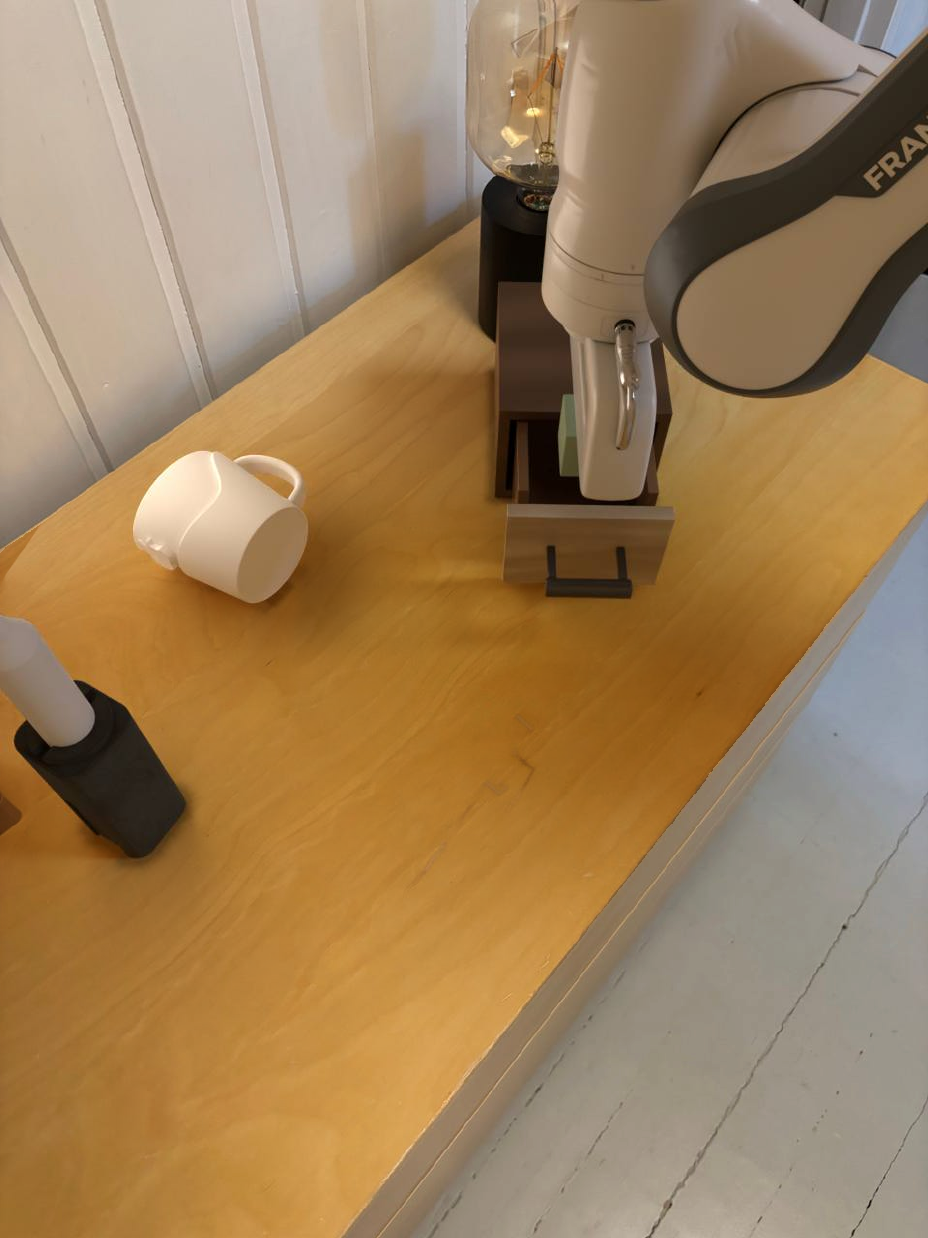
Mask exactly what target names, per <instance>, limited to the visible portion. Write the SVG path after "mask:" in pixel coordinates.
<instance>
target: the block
mask: <svg viewBox="0 0 928 1238" xmlns="http://www.w3.org/2000/svg"><path fill="white" fill-rule="evenodd" d="M558 445H559V464H560V476H579V464H578V449H577V434H576V419H575V404H574V394H564V395H563V401H562V408H561V416H560V424H559V431H558Z"/></svg>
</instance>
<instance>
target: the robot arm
mask: <svg viewBox="0 0 928 1238" xmlns="http://www.w3.org/2000/svg"><path fill="white" fill-rule="evenodd" d="M554 137H555V138H554V149H555V150H554V151H555V157H556V161H557V166H558V174H559V175H558V181H557V182H558V183H557V186H556V188H555V191H554V194H553V196H552V198H551V201H550V204H549V208H548V213H547V214H548V215H547V222H546V223H547V224H546V235H545V247H544V255H543V256H544V257H543V268H542V279H541V283H542V288H541V290H542V297H543V301H544V303H545V305H546V307H547V309H548V310H549V312H550V313H551V315H552V316H553V317H554V318H555V319H556V320H557V321H558V322H560V323H561V324H562V325H563V326H564V328H565V330H566V331H567V332H568V333H569V334H570V344H571V359H572V374H573V389H574V404H575V419H576V434H577V449H578V464H579V479H580V490H581V493H582V495H583V496H584V497H586V498H589V499H596V500H609V501H614V500H630V499H634V498H636V497H638V496H639V495H640V494H641V492H642V490H643V486H644V482H645V477H646V472H647V467H648V462H649V457H650V452H651V446H652V441H653V435H654V428H655V420H656V385H655V378H654V370H653V363H652V355H651V348H650V343H652V342H653V341H654V340H655V339H656V338H658V337H660V339H661V341H662V343H663V346H664V347H665V349H666V350H667V351H668V353H669V354H670V355H671V357H672V358H673V359H674V360H675V361H676V363H678V365H679V366H680V367H682V369H684V370H685V371H686V372H687V373H688V374H689V375H691V376H692V377H693V378H695V379H697V380H698V381H699V382H701V383H702V384H705V385H707V386H709V387H710V388H713V389H715V390H718V391H720V392H723V393H726V394H730V395H733V396H738V397H743V398H749V399H785V398H791V397H798V396H803V395H807V394H811V393H815V392H818V391H821V390H823V389H826V388H827V387H830V386H832V385H834V384H835V383H837V382H839V381H841V380H842V379H843V378H845V377H846V376H847V375H849V374H850V373H851V372H852V371H854V369H855V368H856V367H857V366H858V365H859V364H860V363H861V362H862V360H863V359H864V358H865V356H866V355H867V354H868V353H869V351H870V350H871V349H872V347H873V345H874V343H876V340H877V339H878V337H879V336H880V333H881V332H882V330H883V328H884V327H885V326H886V325H885V324H886V323H887V321H888V320H889V317H890V316H891V314H892V312H893V311H894V310H895V308H896V306H897V305H898V303H899V301H900V300H901V299H902V297H903V296H904V295H905V294H906V292H907V291H908V289H909V288H911V286H912V285H913V284H914V282H916V280H917V279H918V278H919V277H921V275H922V274H923V273H924V272H925V271H927V269H928V26H926V27H925V29H923V31H922V32H920V33H919V34H918V36H917V37H915V39H913V41H911V42H910V44H909V45H907V46H906V47H905V49H904V50H903V51H902V52H901V53H900V54H898V56H896V55H894V54H893V53H890V52H888V51H886V50H884V49H881V48H878V47H875V46H873V45H872V46H871V45H866V44H860V43H857V42H855V41H853V40H851V39H850V38H848V37H846V36H844V35H842V34H840V33H839V32H837V31H836V30H833V29H832V28H830V26H827V25H826V24H824V23H823V22H821V21H820V20H818V19H817V18H816V17H814V16H813V15H812V14H810V13H809V12H808V11H806V10H805V9H804V8H802V6H801V5H799V4H798V3H797V2H796V1H794V0H579V2H578V3H577V8H576V12H575V15H574V18H573V22H572V26H571V30H570V34H569V39H568V43H567V48H566V54H565V60H564V66H563V72H562V79H561V85H560V93H559V101H558V111H557V118H556V125H555V136H554Z"/></svg>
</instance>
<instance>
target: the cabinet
mask: <svg viewBox="0 0 928 1238" xmlns="http://www.w3.org/2000/svg"><path fill="white" fill-rule="evenodd" d="M497 284H498V285H497V286H498V287H497V307H496V326H495V327H496V328H495V351H494V352H495V354H494V372H493V373H494V374H493V375H494V378H493V379H494V382H493V383H494V385H493V386H494V392H493V393H494V395H493V397H494V405H493V406H494V409H493V411H494V413H493V414H494V417H493V419H494V427H493V428H494V430H493V431H494V433H493V435H494V436H493V437H494V439H493V441H494V443H493V445H494V446H493V449H494V453H493V454H494V456H493V457H494V458H493V459H494V460H493V463H494V464H493V465H494V467H493V468H494V469H493V470H494V471H493V472H494V474H493V476H494V478H493V480H494V481H493V483H494V484H493V485H494V487H493V488H494V489H493V491H494V493H493V494H494V497H493V498H502V499H503V498H504V499H505V498H506V499H509V498H510V499H512V436H513V421H514V420H560V416H561V408H562V401H563V395H564V394H574V389H573V374H572V359H571V344H570V334H569V333H568V332H567V331H566V330H565V328H564V326H563V325H562V324H561V323H560V322H558V321H557V320H556V319H555V318H554V317H553V316H552V315H551V313H550V312H549V310H548V309H547V307H546V305H545V303H544V301H543V297H542V290H541V288H542V282H535V281H534V282H533V281H532V282H531V281H530V282H529V281H528V282H527V281H524V282H523V281H498V283H497ZM650 348H651V355H652V363H653V370H654V378H655V385H656V420H655V428H654V435H653V447H654V455H655V464H656V472H657V473H658V471H659V466H660V464H661V460H662V456H663V452H664V448H665V446H666V445H665V444H666V441H667V437H668V433H669V430H670V426H671V422H672V417H673V415H674V413H673V406H672V400H671V393H670V385H669V378H668V372H667V365H666V364H667V363H666V358H665V357H666V356H665V350H664V344H663V342H662V341H661V339H660V337H658V338H656V339H655V340H654V341H653V342H652V343H650Z"/></svg>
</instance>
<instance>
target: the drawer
mask: <svg viewBox="0 0 928 1238" xmlns="http://www.w3.org/2000/svg"><path fill="white" fill-rule="evenodd" d="M559 424H560V420H514V421H513V436H512V498H511V500H512V503H507V504H506V515H505V530H504V544H503V556H502V583H518V584H519V583H520V584H521V583H525V584H527V583H528V584H544V597H545V598H548V599H597V600H599V599H600V600H632V596H633V586H635V585H636V586H655V585H656V583H657V580H658V577H659V573H660V569H661V567H662V563H663V561H664V558H665V557H664V556H665V554H666V550H667V547H668V544H669V541H670V537H671V535H672V531H673V528H674V524H675V521H676V515H675V509H674V506H664V505H663V506H661V505H660V506H659V505H658V506H656V505H657V502H658V498H659V495H660V488H659V480H658V471H657V472H656V464H655V455H654V447H653V441H652V446H651V452H650V457H649V462H648V467H647V472H646V477H645V482H644V486H643V490H642V492H641V494H640V495H639V496H638V497H636V498H634V499H630V500H614V501H609V500H596V499H589V498H586V497H584V496H583V495H582V493H581V490H580V479H579V476H560V464H559V445H558V431H559Z"/></svg>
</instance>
